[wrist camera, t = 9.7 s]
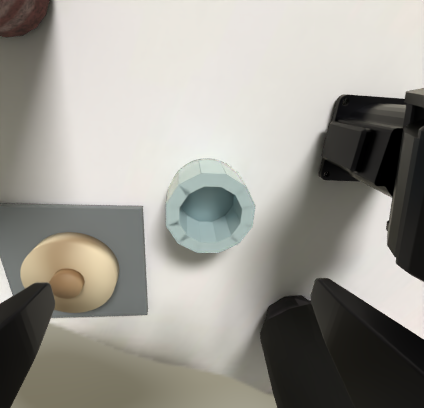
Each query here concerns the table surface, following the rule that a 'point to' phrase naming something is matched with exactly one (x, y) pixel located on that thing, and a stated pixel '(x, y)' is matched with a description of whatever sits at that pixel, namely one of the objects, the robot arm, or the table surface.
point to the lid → (73, 270)
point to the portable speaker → (300, 358)
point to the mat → (86, 224)
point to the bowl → (208, 207)
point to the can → (21, 16)
